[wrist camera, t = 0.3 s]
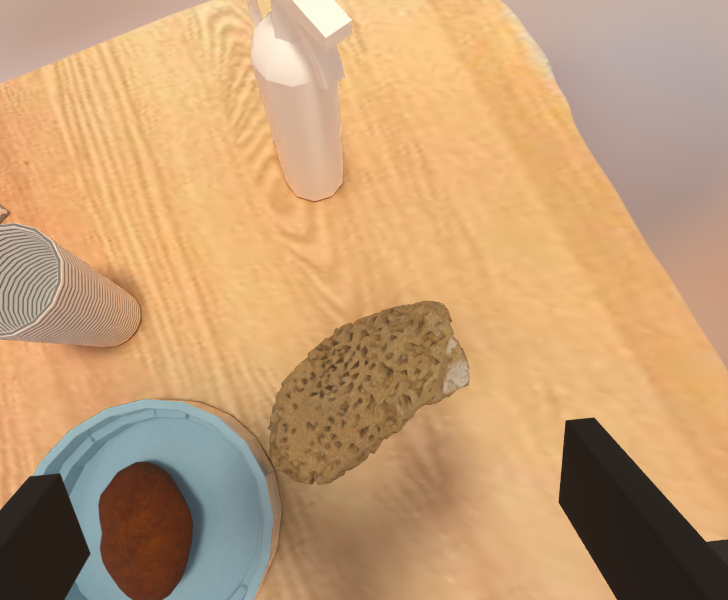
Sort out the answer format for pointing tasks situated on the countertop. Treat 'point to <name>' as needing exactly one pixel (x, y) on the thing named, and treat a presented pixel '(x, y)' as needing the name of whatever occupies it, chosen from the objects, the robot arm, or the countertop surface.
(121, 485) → the potato
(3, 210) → the skyscraper
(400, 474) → the countertop surface
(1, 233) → the cup
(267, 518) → the bowl
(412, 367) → the sponge
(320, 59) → the fire extinguisher
